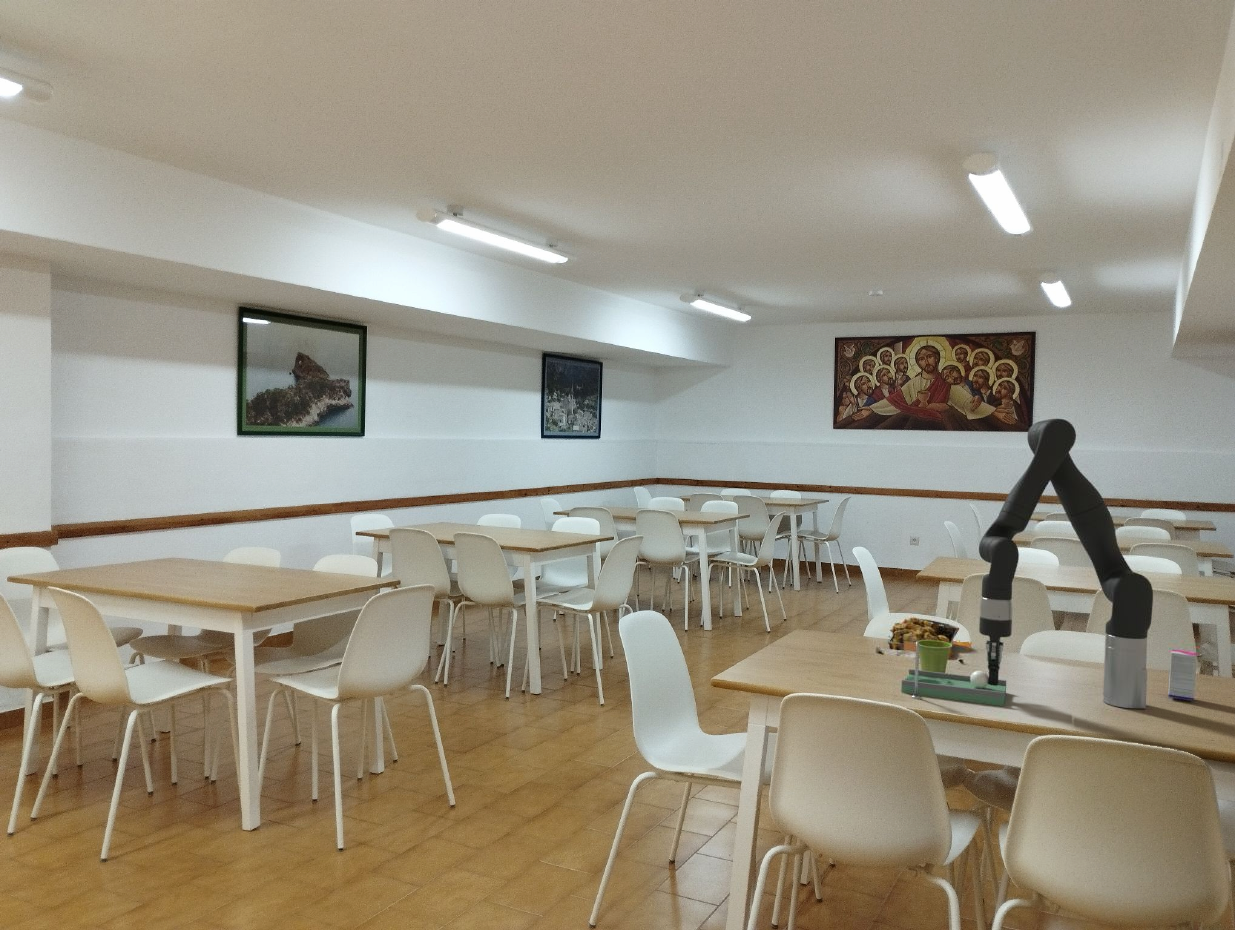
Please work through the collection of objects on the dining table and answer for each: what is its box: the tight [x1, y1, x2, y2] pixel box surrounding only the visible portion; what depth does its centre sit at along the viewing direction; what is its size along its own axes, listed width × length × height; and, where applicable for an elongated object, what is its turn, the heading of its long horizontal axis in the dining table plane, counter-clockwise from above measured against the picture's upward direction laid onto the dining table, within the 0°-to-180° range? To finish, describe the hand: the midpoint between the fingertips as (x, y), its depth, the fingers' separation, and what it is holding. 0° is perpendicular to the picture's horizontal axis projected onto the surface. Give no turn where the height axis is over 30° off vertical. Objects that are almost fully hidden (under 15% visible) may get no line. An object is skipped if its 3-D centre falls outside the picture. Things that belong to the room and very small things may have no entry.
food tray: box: [875, 616, 973, 665], centre depth 294 cm, size 35×26×11 cm
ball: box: [970, 670, 989, 688], centre depth 237 cm, size 4×4×4 cm
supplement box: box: [1167, 648, 1198, 701], centre depth 241 cm, size 6×6×12 cm
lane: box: [900, 668, 1007, 707], centre depth 240 cm, size 24×14×3 cm, turn 65°
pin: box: [904, 641, 922, 700], centre depth 234 cm, size 4×2×14 cm, turn 65°
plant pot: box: [917, 640, 953, 673], centre depth 258 cm, size 9×9×9 cm
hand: (993, 684), depth 236 cm, fingers closed
